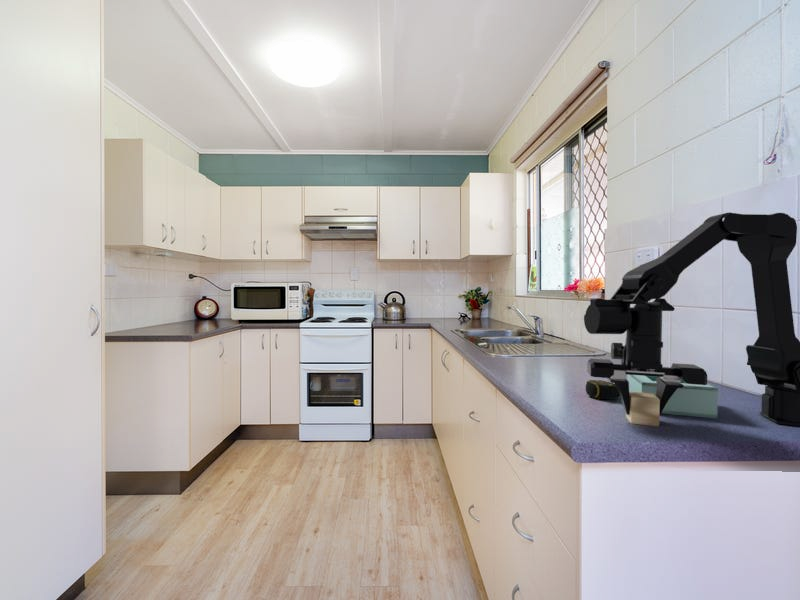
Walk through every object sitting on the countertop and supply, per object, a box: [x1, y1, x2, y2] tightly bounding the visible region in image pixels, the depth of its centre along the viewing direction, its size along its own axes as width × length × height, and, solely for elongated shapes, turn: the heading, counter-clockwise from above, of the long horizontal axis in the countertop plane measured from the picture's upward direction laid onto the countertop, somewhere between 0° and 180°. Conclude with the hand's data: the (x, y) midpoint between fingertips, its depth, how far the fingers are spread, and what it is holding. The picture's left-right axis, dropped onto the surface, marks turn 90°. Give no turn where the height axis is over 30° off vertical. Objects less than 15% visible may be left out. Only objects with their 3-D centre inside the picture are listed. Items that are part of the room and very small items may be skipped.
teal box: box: [626, 374, 719, 419], centre depth 84 cm, size 13×13×6 cm
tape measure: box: [585, 379, 621, 400], centre depth 91 cm, size 7×7×4 cm
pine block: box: [625, 392, 660, 427], centre depth 74 cm, size 4×4×5 cm
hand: (641, 415), depth 74 cm, fingers closed on pine block, 4 cm apart
